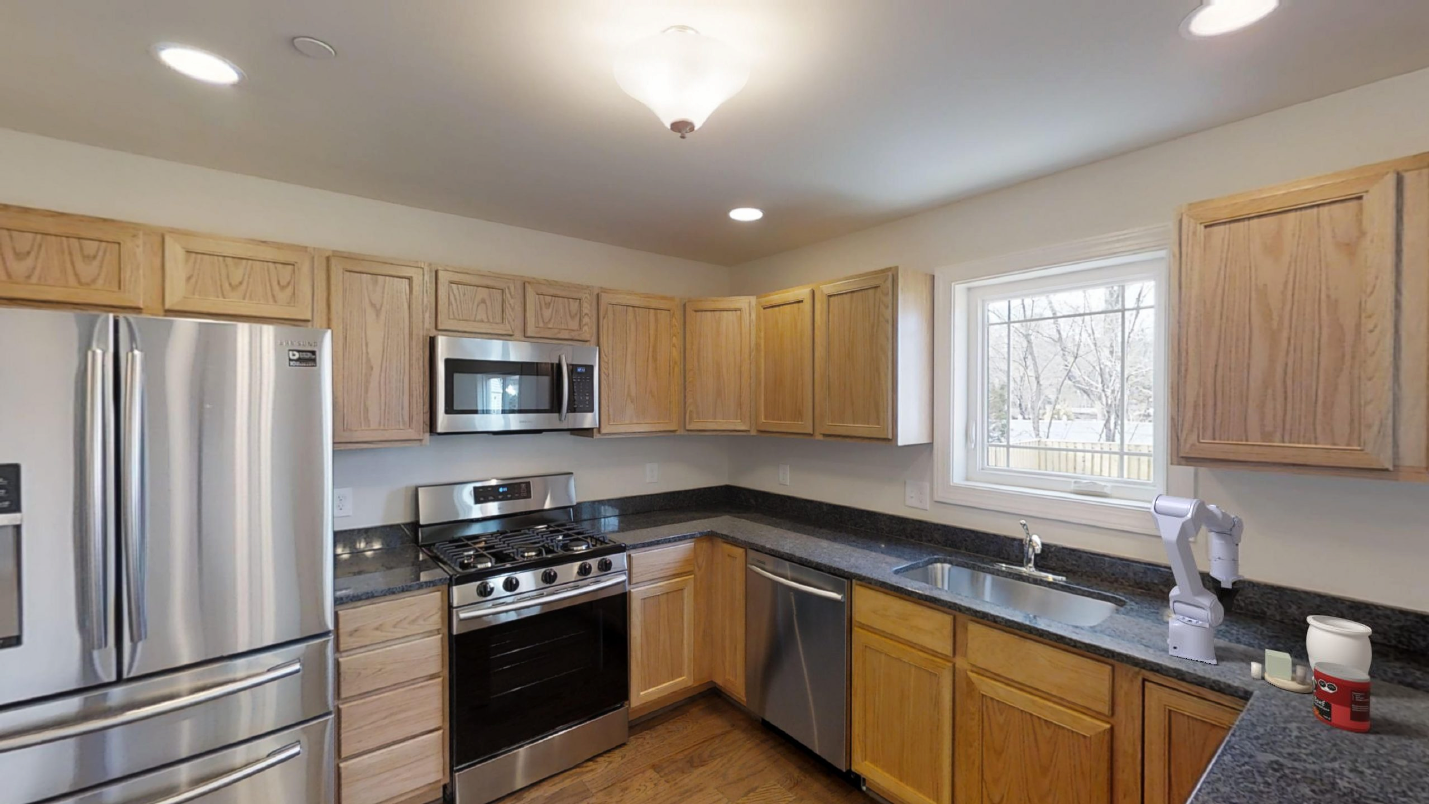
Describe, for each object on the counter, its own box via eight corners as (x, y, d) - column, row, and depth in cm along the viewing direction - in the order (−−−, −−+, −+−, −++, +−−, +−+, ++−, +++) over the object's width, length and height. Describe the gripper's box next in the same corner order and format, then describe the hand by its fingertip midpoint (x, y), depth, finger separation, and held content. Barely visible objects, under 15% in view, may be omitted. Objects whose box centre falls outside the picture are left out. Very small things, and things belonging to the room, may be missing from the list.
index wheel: (1306, 696, 131) (1306, 671, 131) (1259, 681, 137) (1259, 657, 137) (1317, 687, 135) (1317, 663, 135) (1271, 673, 142) (1271, 650, 142)
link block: (1267, 675, 137) (1267, 654, 137) (1265, 669, 140) (1265, 649, 140) (1291, 680, 134) (1291, 659, 134) (1288, 674, 137) (1288, 653, 137)
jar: (1351, 700, 129) (1352, 633, 129) (1294, 678, 139) (1295, 616, 139) (1382, 694, 132) (1383, 629, 132) (1324, 673, 142) (1325, 612, 142)
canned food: (1310, 708, 126) (1311, 658, 126) (1364, 721, 121) (1365, 669, 121) (1316, 723, 120) (1317, 670, 120) (1374, 738, 115) (1374, 683, 115)
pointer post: (1251, 678, 139) (1251, 663, 139) (1250, 675, 141) (1250, 661, 141) (1261, 680, 138) (1262, 666, 138) (1260, 677, 140) (1260, 663, 140)
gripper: (1247, 566, 150) (1246, 618, 150) (1241, 554, 161) (1241, 602, 161) (1211, 561, 154) (1211, 612, 154) (1208, 550, 166) (1208, 597, 166)
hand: (1224, 607), depth 158 cm, fingers open, 7 cm apart
